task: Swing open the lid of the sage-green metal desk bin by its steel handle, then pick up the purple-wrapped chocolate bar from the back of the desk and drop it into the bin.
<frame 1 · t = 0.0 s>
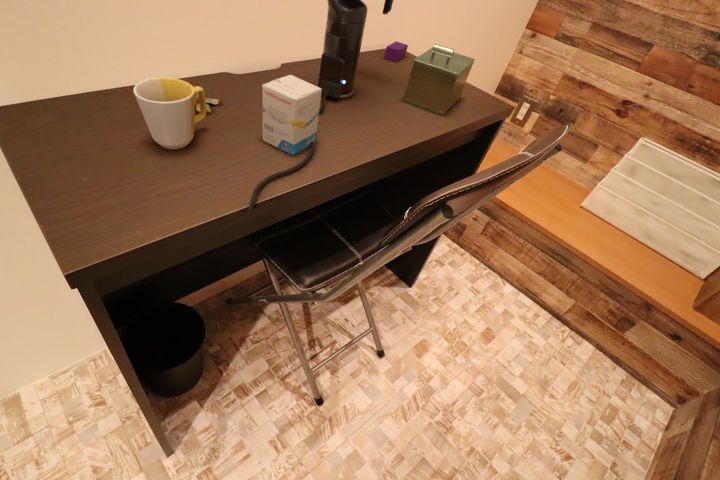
hand: (370, 9, 94), 17 cm above the table, tool pointing down, fingers open, 8 cm apart
bin: (431, 99, 103), on the table
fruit: (199, 107, 84), on the table
lid: (447, 52, 93), point 12 cm above the table, hinge at 0.0°
chocolate: (394, 57, 123), on the table
ink box: (289, 142, 78), on the table
mug: (182, 140, 74), on the table
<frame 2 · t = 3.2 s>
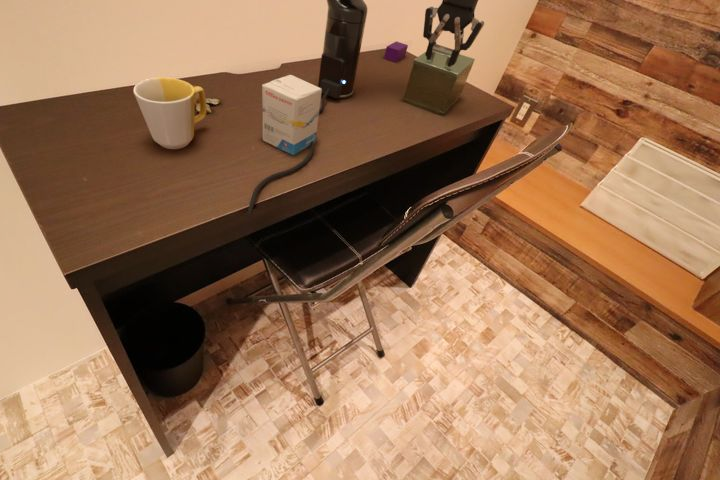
hand: (439, 62, 91), 11 cm above the table, tool pointing down, fingers closed on lid, 5 cm apart
lid: (447, 52, 93), point 12 cm above the table, hinge at 0.0°, touching gripper
everything else where it was.
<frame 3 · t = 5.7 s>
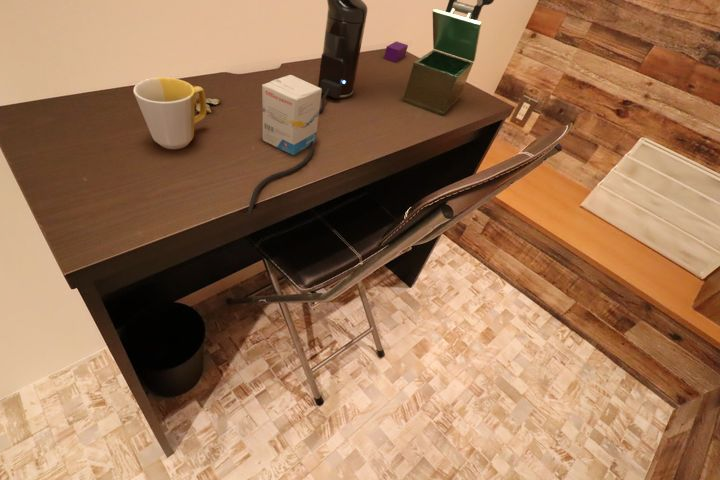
hand: (459, 20, 89), 19 cm above the table, tool pointing down, fingers closed on lid, 5 cm apart
lid: (458, 29, 92), point 17 cm above the table, hinge at 42.0°, touching gripper
everything else where it was.
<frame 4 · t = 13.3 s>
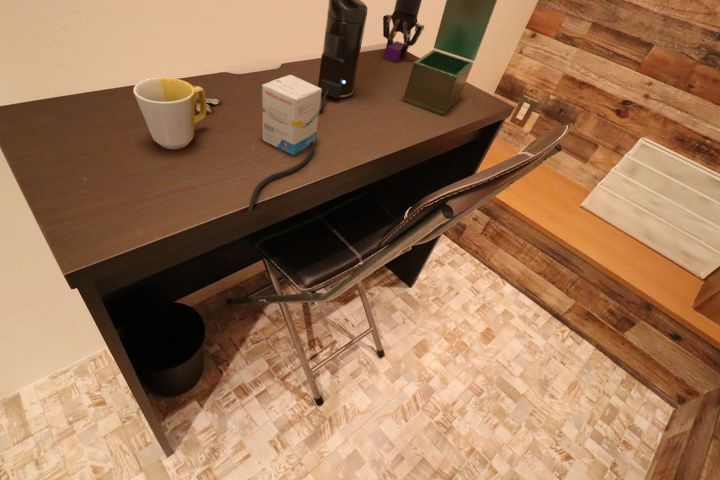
hand: (395, 55, 122), 1 cm above the table, tool pointing down, fingers closed on chocolate, 4 cm apart
lid: (466, 19, 94), point 18 cm above the table, hinge at 79.6°
chocolate: (394, 57, 123), on the table, touching gripper
everything else where it was.
when the fingers open (9 cm above the table, at t = 22.6 s): chocolate drops 8 cm and tips over, resting on bin.
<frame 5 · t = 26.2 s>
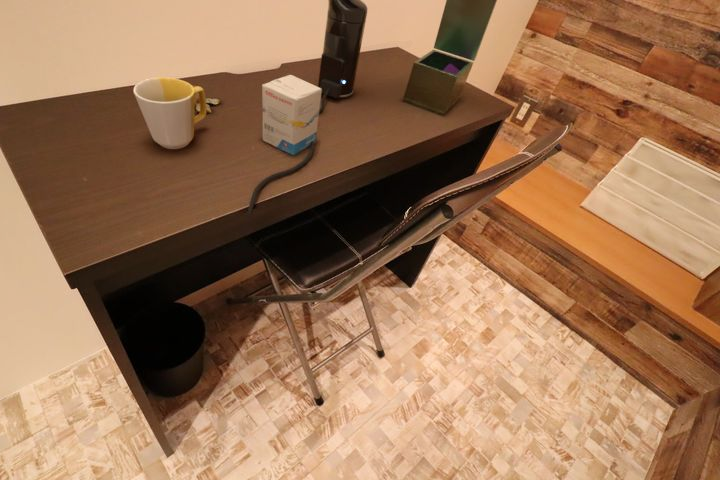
lid: (466, 19, 94), point 18 cm above the table, hinge at 79.1°
chocolate: (442, 86, 102), point 3 cm above the table, tilted 32°, touching bin
everything else where it was.
at the end: lid at +79° (first picture: +0°); chocolate inside the target area in the bin (3.1 cm from its centre), point 3.3 cm above the bin's base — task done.
